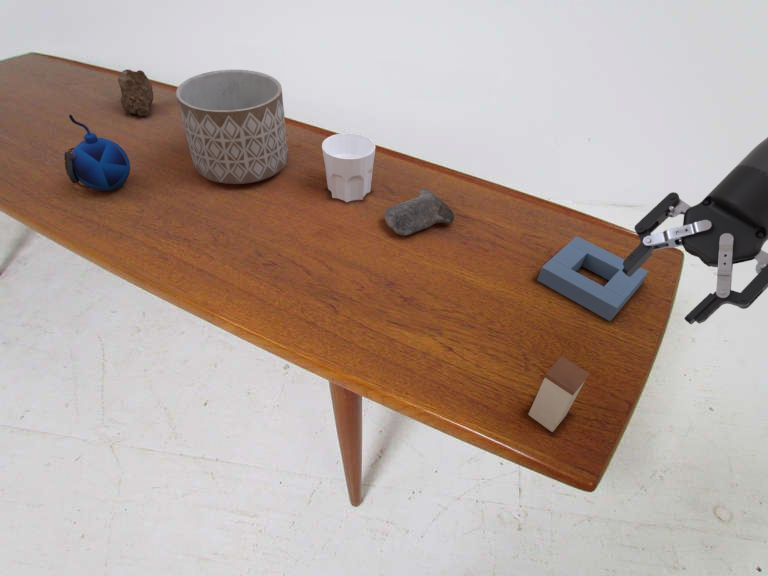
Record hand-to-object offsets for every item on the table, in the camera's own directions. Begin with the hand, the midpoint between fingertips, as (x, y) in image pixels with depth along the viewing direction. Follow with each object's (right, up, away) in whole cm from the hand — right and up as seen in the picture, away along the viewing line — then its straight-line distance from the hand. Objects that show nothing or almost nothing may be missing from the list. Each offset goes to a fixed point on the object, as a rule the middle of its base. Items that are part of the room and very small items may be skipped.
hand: (655, 296), depth 57 cm
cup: (-38, +21, +43) cm, 61 cm away
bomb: (-86, +21, +40) cm, 97 cm away
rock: (-90, +45, +65) cm, 120 cm away
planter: (-61, +27, +48) cm, 82 cm away
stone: (-25, +14, +37) cm, 47 cm away
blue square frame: (+3, +2, +26) cm, 26 cm away
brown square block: (-10, -15, +7) cm, 20 cm away
